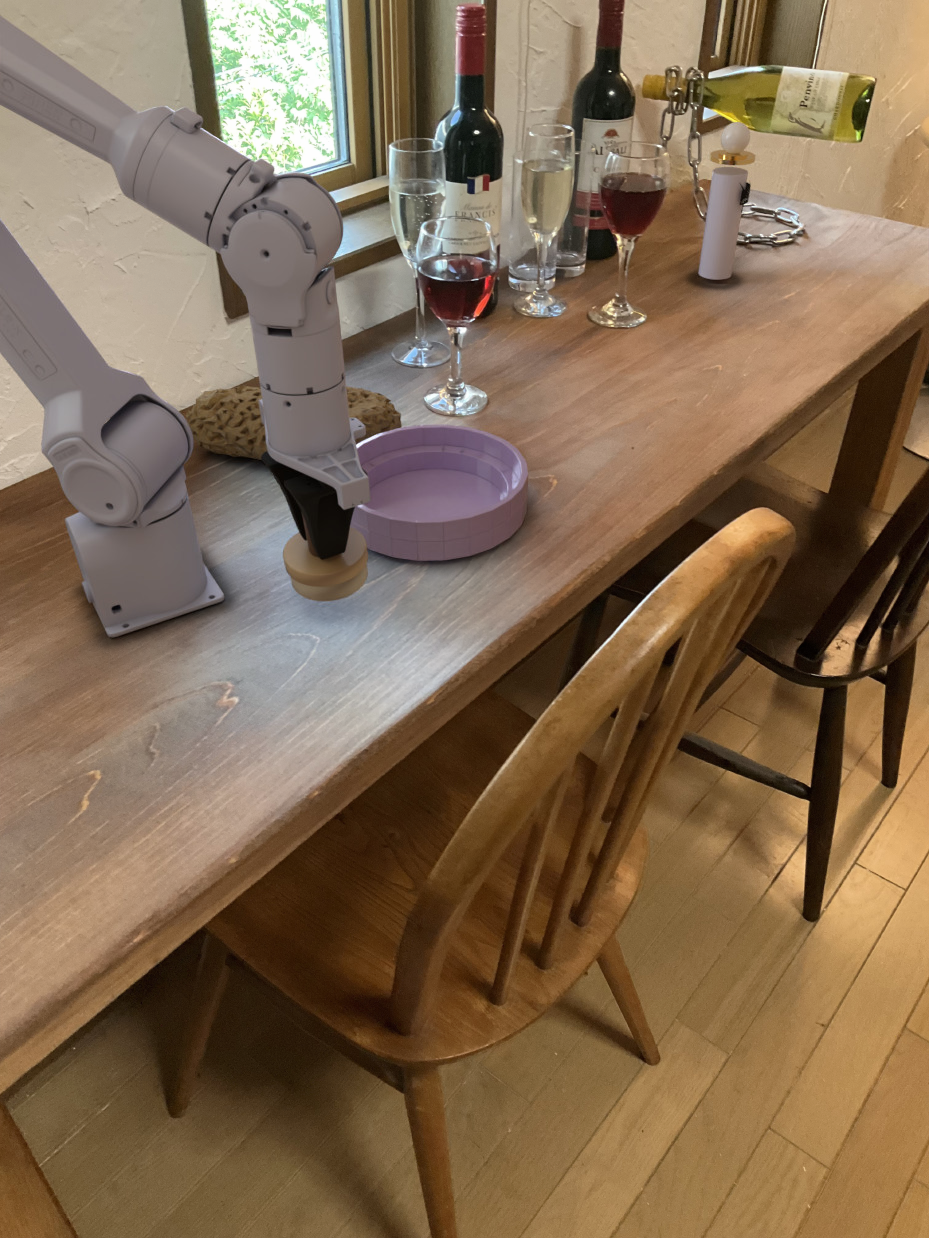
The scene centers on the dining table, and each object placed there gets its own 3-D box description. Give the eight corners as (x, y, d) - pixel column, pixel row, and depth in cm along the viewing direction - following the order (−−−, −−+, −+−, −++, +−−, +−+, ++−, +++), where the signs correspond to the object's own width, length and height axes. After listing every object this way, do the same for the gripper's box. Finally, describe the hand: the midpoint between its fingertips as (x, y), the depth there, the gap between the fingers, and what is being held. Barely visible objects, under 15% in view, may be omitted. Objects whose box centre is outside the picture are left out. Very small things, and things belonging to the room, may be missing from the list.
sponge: (188, 476, 97) (354, 478, 88) (168, 398, 94) (339, 393, 85) (266, 441, 107) (421, 440, 98) (251, 370, 104) (410, 362, 95)
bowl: (393, 589, 80) (389, 544, 77) (310, 496, 91) (304, 454, 88) (563, 528, 86) (565, 485, 83) (465, 449, 98) (465, 409, 95)
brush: (310, 614, 72) (295, 542, 67) (275, 570, 76) (259, 499, 71) (385, 582, 74) (375, 510, 70) (347, 541, 78) (336, 471, 74)
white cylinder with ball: (690, 284, 133) (712, 126, 121) (695, 270, 138) (717, 116, 125) (733, 288, 132) (759, 128, 119) (736, 274, 136) (762, 118, 124)
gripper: (406, 403, 61) (415, 575, 70) (313, 328, 71) (331, 487, 79) (303, 432, 58) (326, 607, 67) (221, 349, 68) (250, 512, 77)
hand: (323, 544), depth 73 cm, fingers closed on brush, 2 cm apart
